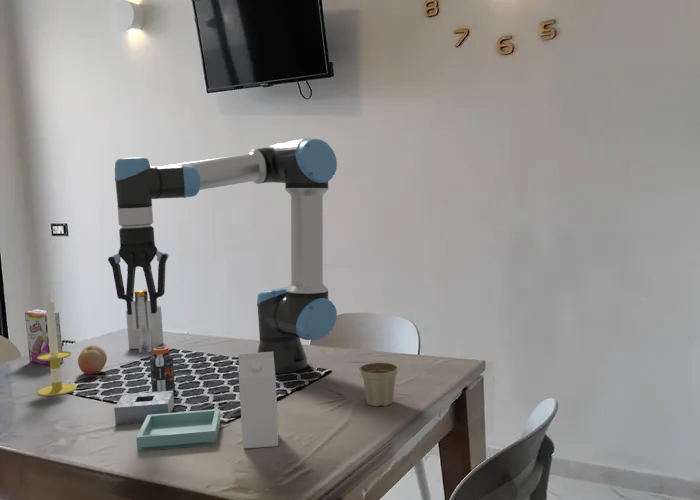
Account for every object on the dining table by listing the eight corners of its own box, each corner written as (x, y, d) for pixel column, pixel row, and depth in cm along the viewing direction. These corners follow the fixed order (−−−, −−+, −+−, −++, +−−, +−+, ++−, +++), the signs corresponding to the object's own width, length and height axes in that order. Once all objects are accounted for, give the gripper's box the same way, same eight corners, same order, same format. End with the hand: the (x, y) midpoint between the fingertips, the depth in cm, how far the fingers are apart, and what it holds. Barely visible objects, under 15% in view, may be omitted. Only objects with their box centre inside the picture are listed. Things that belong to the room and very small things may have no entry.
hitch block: (174, 406, 173) (173, 390, 172) (168, 420, 163) (167, 403, 162) (124, 410, 171) (122, 394, 171) (115, 424, 161) (114, 407, 161)
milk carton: (245, 436, 150) (239, 349, 148) (278, 434, 151) (273, 347, 149) (243, 449, 143) (237, 358, 141) (278, 446, 144) (272, 356, 142)
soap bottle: (128, 349, 235) (124, 292, 233) (140, 342, 243) (136, 288, 241) (152, 349, 233) (148, 292, 231) (163, 342, 242) (159, 288, 240)
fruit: (72, 376, 204) (70, 349, 204) (92, 368, 212) (90, 342, 211) (94, 378, 201) (92, 350, 201) (113, 370, 209) (111, 344, 208)
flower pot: (404, 397, 172) (403, 363, 171) (394, 410, 163) (392, 374, 162) (367, 395, 175) (366, 361, 174) (355, 407, 166) (354, 372, 165)
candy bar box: (28, 362, 223) (23, 311, 221) (42, 358, 227) (38, 308, 225) (50, 366, 217) (45, 314, 215) (64, 362, 221) (59, 311, 219)
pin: (152, 349, 164) (148, 290, 163) (150, 352, 162) (146, 292, 160) (140, 350, 164) (136, 290, 163) (137, 353, 161) (133, 292, 160)
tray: (220, 421, 160) (219, 409, 160) (216, 444, 146) (215, 430, 146) (148, 427, 158) (147, 414, 158) (137, 451, 145) (136, 437, 144)
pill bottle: (168, 392, 184) (165, 350, 183) (147, 392, 185) (144, 350, 184) (178, 386, 190) (175, 345, 189) (158, 385, 191) (155, 344, 190)
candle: (85, 386, 193) (76, 290, 190) (56, 397, 184) (47, 296, 181) (58, 383, 197) (50, 288, 194) (29, 394, 188) (19, 295, 185)
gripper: (174, 223, 164) (180, 322, 167) (104, 226, 163) (112, 326, 165) (169, 225, 157) (176, 329, 159) (96, 229, 155) (104, 333, 158)
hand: (143, 327), depth 162 cm, fingers closed on pin, 3 cm apart
